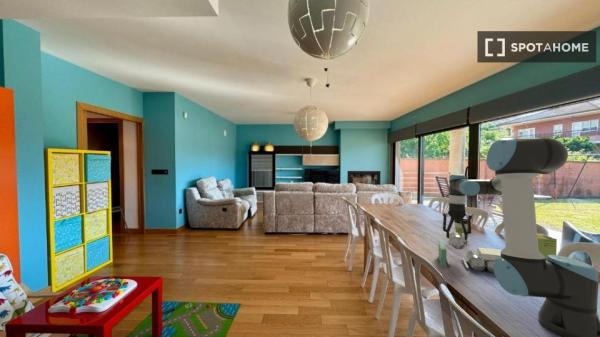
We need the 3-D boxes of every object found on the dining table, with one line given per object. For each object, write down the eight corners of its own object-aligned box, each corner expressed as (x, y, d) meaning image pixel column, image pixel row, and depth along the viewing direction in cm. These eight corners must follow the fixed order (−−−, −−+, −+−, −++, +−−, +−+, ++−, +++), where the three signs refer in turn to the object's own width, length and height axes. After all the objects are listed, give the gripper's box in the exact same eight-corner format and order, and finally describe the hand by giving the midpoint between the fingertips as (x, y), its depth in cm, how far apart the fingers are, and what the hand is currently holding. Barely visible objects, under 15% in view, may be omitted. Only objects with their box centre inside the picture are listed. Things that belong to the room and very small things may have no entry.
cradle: (468, 270, 129) (468, 267, 129) (448, 267, 133) (448, 264, 133) (463, 260, 142) (463, 257, 142) (445, 257, 145) (445, 255, 145)
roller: (465, 249, 130) (463, 238, 130) (453, 249, 133) (450, 238, 133) (461, 241, 141) (459, 231, 141) (449, 242, 144) (447, 232, 144)
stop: (446, 266, 133) (446, 250, 133) (441, 266, 134) (441, 249, 134) (443, 257, 146) (443, 242, 146) (438, 257, 147) (438, 241, 147)
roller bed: (523, 278, 120) (523, 265, 120) (470, 270, 129) (471, 258, 128) (512, 267, 133) (512, 255, 133) (465, 260, 141) (465, 250, 141)
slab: (521, 264, 122) (521, 258, 122) (481, 259, 128) (482, 253, 128) (514, 257, 131) (514, 251, 131) (477, 252, 137) (477, 247, 137)
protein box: (556, 268, 130) (557, 239, 130) (522, 266, 134) (523, 237, 133) (541, 261, 141) (542, 233, 140) (510, 258, 144) (510, 232, 143)
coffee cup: (450, 239, 180) (450, 218, 180) (460, 238, 183) (461, 217, 183) (463, 243, 171) (463, 221, 170) (473, 242, 174) (474, 220, 173)
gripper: (476, 202, 136) (475, 245, 137) (436, 200, 144) (436, 240, 144) (479, 205, 129) (478, 249, 130) (438, 202, 137) (437, 244, 137)
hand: (456, 244), depth 137 cm, fingers closed on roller, 6 cm apart
